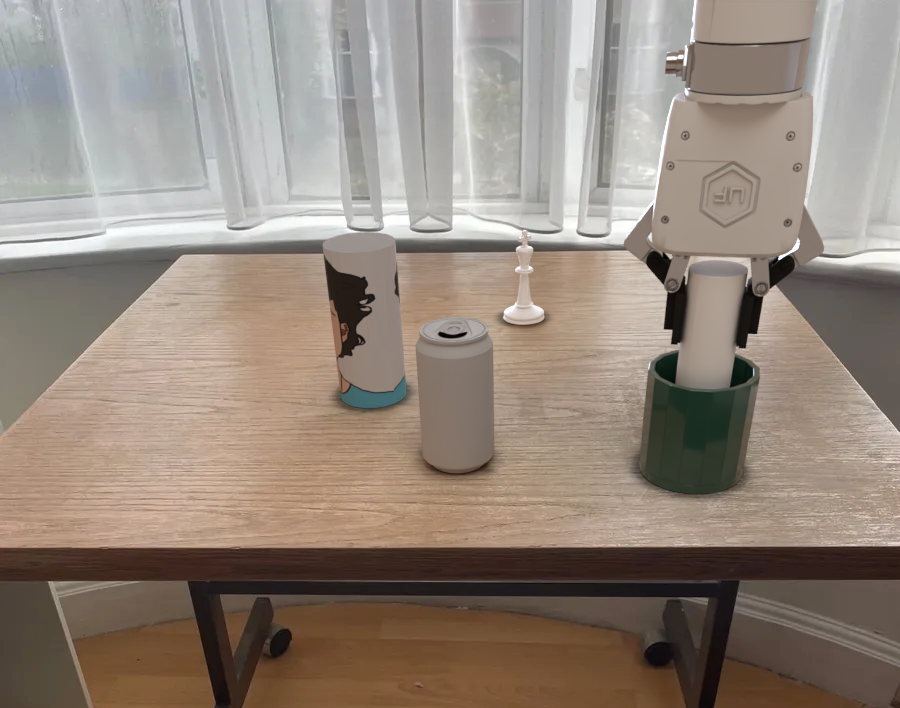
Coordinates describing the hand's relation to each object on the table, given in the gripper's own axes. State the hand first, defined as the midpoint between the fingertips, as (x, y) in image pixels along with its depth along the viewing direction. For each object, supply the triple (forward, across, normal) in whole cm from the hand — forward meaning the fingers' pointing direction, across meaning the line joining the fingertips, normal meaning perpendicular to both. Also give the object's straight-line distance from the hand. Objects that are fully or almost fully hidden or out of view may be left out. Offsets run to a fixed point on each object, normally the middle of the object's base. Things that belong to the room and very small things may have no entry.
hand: (708, 337), depth 70 cm
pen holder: (+12, 0, 0) cm, 12 cm away
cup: (+12, -32, +10) cm, 36 cm away
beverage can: (+12, -20, -2) cm, 23 cm away
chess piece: (+12, -21, +34) cm, 42 cm away
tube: (+10, 0, 0) cm, 10 cm away
